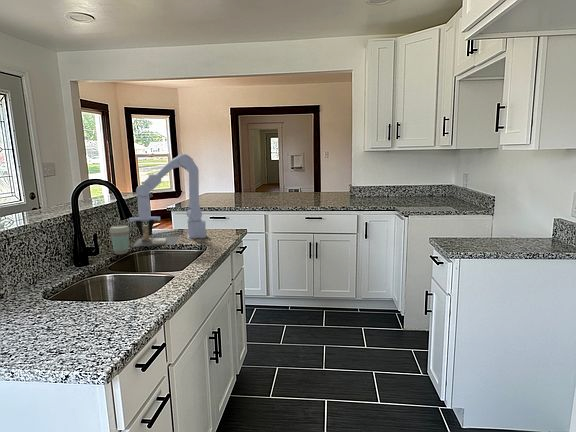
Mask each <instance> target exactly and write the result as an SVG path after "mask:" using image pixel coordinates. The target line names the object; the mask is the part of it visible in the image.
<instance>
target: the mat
mask: <svg viewBox="0 0 576 432" xmlns="http://www.w3.org/2000/svg"><path fill="white" fill-rule="evenodd" d="M150 238H151V241H150V242H142V239H143V238H138V239H137V240H136V241H135V242H134V244H132V246H131V247H132V248H135V247H138V248H139V247H150V246H151V247H152V246H168V245H169V246H170V245H176V244H177V241H178V239H179V236H167V237H166V236H165V237H161V238H166V240H167V241H166V243H165V244H152V241H153V239H155V238H156V237H150Z"/></svg>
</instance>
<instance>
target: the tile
mask: <svg viewBox="0 0 576 432" xmlns="http://www.w3.org/2000/svg"><path fill="white" fill-rule="evenodd" d="M154 238H155V239H153V241H152V244H165V243H166V241H167V240H166V238H162V237H154Z"/></svg>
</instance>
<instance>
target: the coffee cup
mask: <svg viewBox="0 0 576 432" xmlns="http://www.w3.org/2000/svg"><path fill="white" fill-rule="evenodd" d="M109 234H110V239H111V245H112V248H113V253H114V255H126V254H128V253H129V248H130V247H129V244H130V241H129V240H130V227H129V225H112V226H111V227H110V228H109Z"/></svg>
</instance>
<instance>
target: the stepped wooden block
mask: <svg viewBox="0 0 576 432" xmlns="http://www.w3.org/2000/svg"><path fill="white" fill-rule="evenodd" d="M142 230H143V236H142V237H143V238H141V239H142V242H150V241H151V238H152V237H150V236H149V224H147V225H146V224H145V225H143V224H142Z"/></svg>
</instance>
